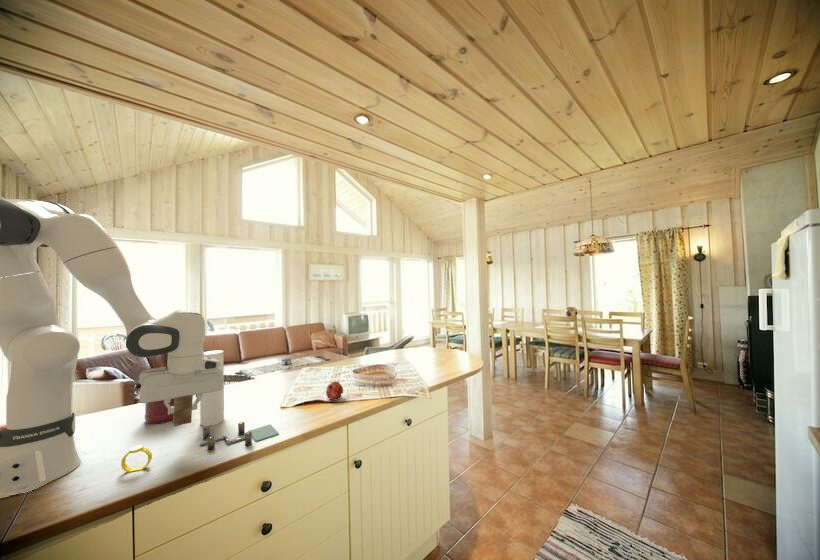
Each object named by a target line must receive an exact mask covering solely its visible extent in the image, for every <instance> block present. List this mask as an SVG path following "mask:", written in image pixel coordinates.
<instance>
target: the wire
mask: <svg viewBox="0 0 820 560" xmlns="http://www.w3.org/2000/svg"><path fill="white" fill-rule="evenodd" d="M222 440H224V441H225V443H226V444H227V445H231V444H234V443H237V442H241V441H245V436H242V437H239V438H236V439H232V440H230V439H229V438H228V436H227V435H223V436H221V437H217V438H215V442H218V441H222ZM199 445H200V447H201V446H205V445H206V446H207V440H205V441H204V442H203V441H202V442H200V444H199Z"/></svg>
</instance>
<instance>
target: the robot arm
mask: <svg viewBox="0 0 820 560" xmlns="http://www.w3.org/2000/svg"><path fill="white" fill-rule="evenodd" d="M38 247H42V248H51V249H52V250H53V251H54V253H55V254H57V256H58V258H59V259H60V261H61V262H62V263H63V265H64V267H65V268H66V269H67V270H68V272H69V273H70V274H71V275H72V276H73V277H74V278H75V279H76V280H77V281H78V283H80V284H81V285H82V286H84V287H85V288H86V289H89V290H90V291H91V292H93V293H95V294H97V295H98V296H99V297H101V298H102V299H103V300H104V301H106V302H107V303H108V304H109V306H110V307H111V309H112V310H113V312H115V314H116V315H117V317H118V318H119V320H120V321H121V323H122V324H123V325H124V328H125V330H126V331H125V332H126V339H125V340H126V341H125V346H126V349H127V351H128V352H129V353H130V354H132V355H133V356H135V357H138V358H143V359H144V358H146V359H147V358H153V357H156V356H160V355H161V356H162V355H165V354H167V361H166V363H167V364H166V365H167V366H160V367H159V366H158V367H154V368H153V367H149V368H147V369H145V370H143V371H142V372H140V374H138V375H139V376H138V383H139V384H140V390H139V395H138V401H139V402H140V403H142V404H145V403H149V402H155V401H161V400H164V404H165V405H166V407H167V408H168V415H170V414H174V413H175V411H174V410H175V407H174V406H172V407H171V406H170V405H169V403H170V401H171V399H173V398H177V397H183V396H190V395H193V396H195V397H196V398H195V400H194V402H192V411H195V410H197V409H198V404H199V402H200V400H201V398H202V394H204V393H210V392H216V391H221V390H222V388H223V387H225V386H224V385H225V383H224V381H225V380H224V379H225V378H223V372H222V370H221V369H220V368H219V367H220V361H219V360H217V359H214V358H208V357H204V352H205V351H204V343H205V340H206V322H205V317H204V316H203V315H202V314H201V313H199V312H195V311H188V310H182V309H181V310H178V309H177V310H174V311H173V312H171V313H170V314H168V315H166V316H163V317H161V318H158V319H156V318H154V317H153V316H152V315H151V314H150V313H149V312H148V310H147V309H146V307H145V306H144V304H143V303H142V301H141V299H140V297H139V296H138V294H137V293H136V291H135V289H134V286H133V282H132V276H131V271H130V268H129V265H128V262H127V261H126V258H125V256H124V255H123V252H122V251H121V250H120V248H119V246H118V245H117V243H116V242H115V240H114V238H112V236H111V235H110V234H109V232H108V231H107V230H106V229H105V228H104V227H103V226H102V225H101V224H100V223H99V221H97V220H96V218H94V217H92V216H90V215H87V214H84V213H75V212H74V211H72V210H71V209H70V208H69V207H67V206H64V205H62V204H60V203H56V202H52V201H47V200H45V201H44V200H43V201H42V200H37V199H29V198H28V199H27V198H0V349H1V352H2V353H3V356H5V358H6V359H7V360H8V361H10V364H11V365H10V375H9V376H10V377H9V384H8V389H7V394H6V396H5V397H6V403H5V404H6V405H5V411H6V412H5V415H6V416H5V424H3V425H0V491H2V492H3V493H4V494H7V493H22V492H27V491H31V490H34V489H36V488H38V489H40V488H41V486H42V487H43V486H46V484H48V483H50V482H53V481H54V480H57V479H59V478H61V477H63V476H65V475H67V474H69V473H70V472H72V471H74V470H75V469H77V468H78V467H79V466H80V464H81V461H82V460H81V459H80V457H79V454H78V451H77V448H76V444H75V443H76V442H75V439H74V434H75V431H76V417H75V416H76V415H75V412H73V388H74V387H73V385H74V378H75V373H76V369H77V365H78V355H79V352H80V347H81V344H80V340H79V339H78V337H77V336H76V334H75V333H73V332H72V331H71V330H69V329H67V328H63V327H62V326H61V323H60V320H59V317H58V314H57V310H56V305H55V299H54V297H53V295H52V292H51V290H50V288H49V286H48V284H47V281H46V279H45V277H44V274H43V272H42V271H41V268H40V266H39V264H38V262H37V260H36V257H35V252H36V250H37V248H38ZM166 370H167V372H166ZM39 487H40V488H39ZM36 490H37V489H36ZM34 491H35V490H34ZM31 492H32V491H31Z"/></svg>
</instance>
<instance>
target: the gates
mask: <svg viewBox="0 0 820 560" xmlns="http://www.w3.org/2000/svg"><path fill="white" fill-rule="evenodd" d="M202 427H203V428H202V440H205V441H207V444H206V447H207V451H208V450H210V451H212V450H215V448H216V447H215V445H216V444H215V442H216V441H215V439H216V438H215V435H211V431H210V429H211V427H210V426H202ZM245 427H246V426H245V422H244V421H242V422H241V421H240V422H239V423H238V425H237V428H238V430H237V431H238V432H237V433H238V434H237V435H238V436H243V435H244V437H245V439H244V446H246V447H249V446H252V445H253V438H252V432H248V431H247V432H245Z"/></svg>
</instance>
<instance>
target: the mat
mask: <svg viewBox="0 0 820 560" xmlns="http://www.w3.org/2000/svg"><path fill="white" fill-rule="evenodd" d="M247 432H252V440H253V441H254V442H255V443H257V442H260V441H264V440H266V439H270V438H272V437H275V436H276V437H277V436H278V435H280V433H279V431H277V430H276V428H274V426H273V425H271V424H266V425H263V426H260V427H258V428H257V427H256V428H254V429H250V430H248V431H247Z"/></svg>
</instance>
